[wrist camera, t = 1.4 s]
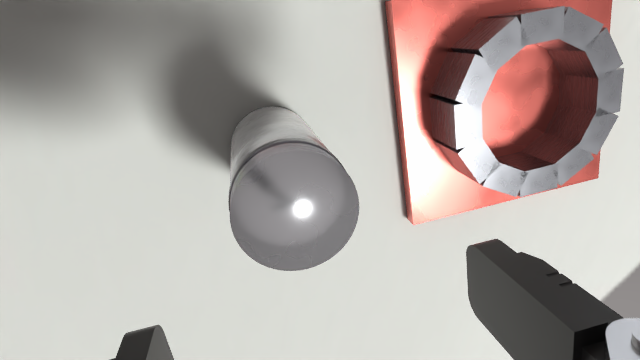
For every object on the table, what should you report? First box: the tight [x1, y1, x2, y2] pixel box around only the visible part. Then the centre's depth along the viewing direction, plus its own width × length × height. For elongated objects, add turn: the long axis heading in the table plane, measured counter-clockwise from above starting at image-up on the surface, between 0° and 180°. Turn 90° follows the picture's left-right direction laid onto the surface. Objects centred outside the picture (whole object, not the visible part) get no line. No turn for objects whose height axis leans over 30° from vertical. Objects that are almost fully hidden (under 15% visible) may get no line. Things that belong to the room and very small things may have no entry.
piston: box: [229, 107, 359, 271], centre depth 21 cm, size 5×5×10 cm
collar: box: [385, 0, 624, 225], centre depth 25 cm, size 14×14×4 cm
